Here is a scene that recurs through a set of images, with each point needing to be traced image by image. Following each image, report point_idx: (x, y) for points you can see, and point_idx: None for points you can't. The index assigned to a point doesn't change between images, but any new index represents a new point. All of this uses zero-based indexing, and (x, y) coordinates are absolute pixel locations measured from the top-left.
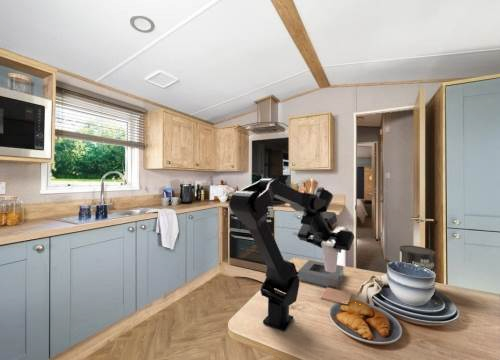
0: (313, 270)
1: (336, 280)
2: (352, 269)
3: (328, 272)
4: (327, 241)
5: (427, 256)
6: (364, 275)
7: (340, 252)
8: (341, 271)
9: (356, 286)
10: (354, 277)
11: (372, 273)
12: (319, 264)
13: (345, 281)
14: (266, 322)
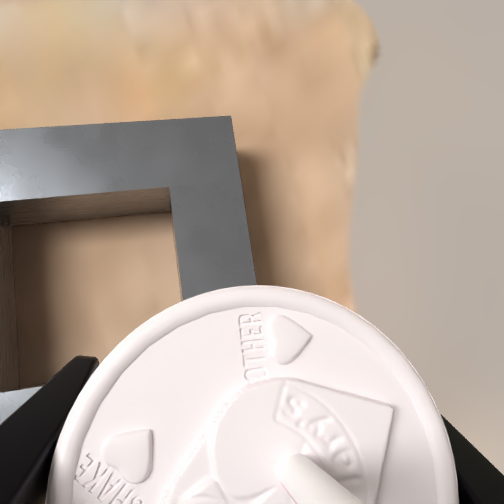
0: (4, 243)
1: None
2: (243, 13)
3: (130, 207)
4: (146, 336)
5: None
6: (336, 71)
7: None
8: (242, 207)
9: (349, 275)
10: (296, 141)
11: (365, 13)
12: (34, 192)
13: (269, 243)
14: None
